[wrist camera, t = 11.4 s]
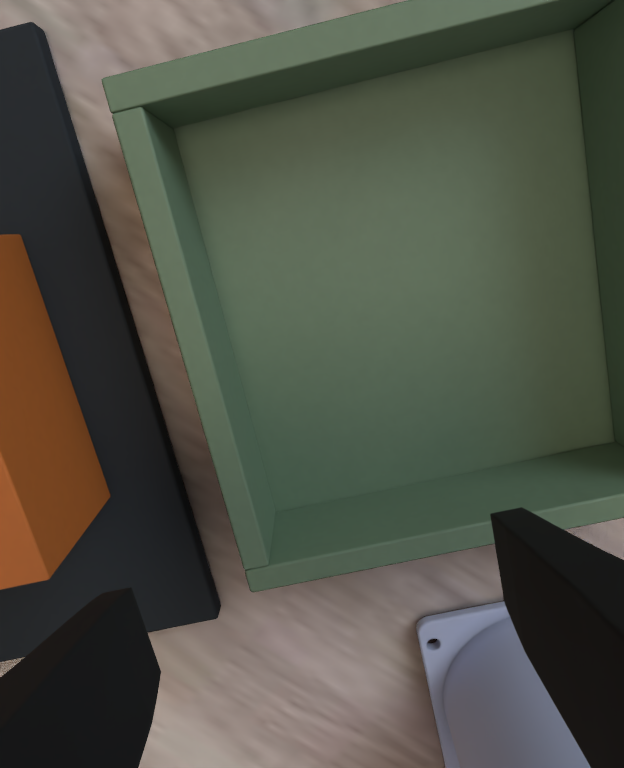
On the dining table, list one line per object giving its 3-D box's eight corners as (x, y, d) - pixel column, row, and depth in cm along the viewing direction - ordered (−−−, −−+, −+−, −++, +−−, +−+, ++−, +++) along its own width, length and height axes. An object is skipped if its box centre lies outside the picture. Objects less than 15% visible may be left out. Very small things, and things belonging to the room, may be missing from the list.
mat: (221, 605, 22) (218, 619, 22) (-3, 650, 23) (-14, 665, 22) (44, 29, 17) (31, 20, 17) (-239, 103, 18) (-264, 97, 17)
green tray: (634, 454, 21) (703, 502, 17) (260, 531, 22) (250, 594, 18) (592, -4, 17) (669, -68, 13) (143, 108, 18) (99, 78, 14)
